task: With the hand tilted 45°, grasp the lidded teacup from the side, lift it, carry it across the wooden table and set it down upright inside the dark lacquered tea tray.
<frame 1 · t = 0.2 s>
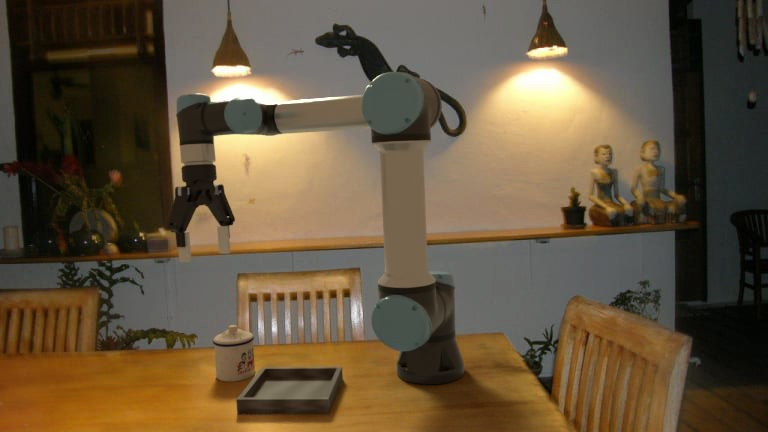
hand: (206, 257, 139), 27 cm above the table, tool pointing down, fingers open, 13 cm apart
tea tray: (293, 395, 127), on the table
teacup with lid: (239, 374, 142), on the table
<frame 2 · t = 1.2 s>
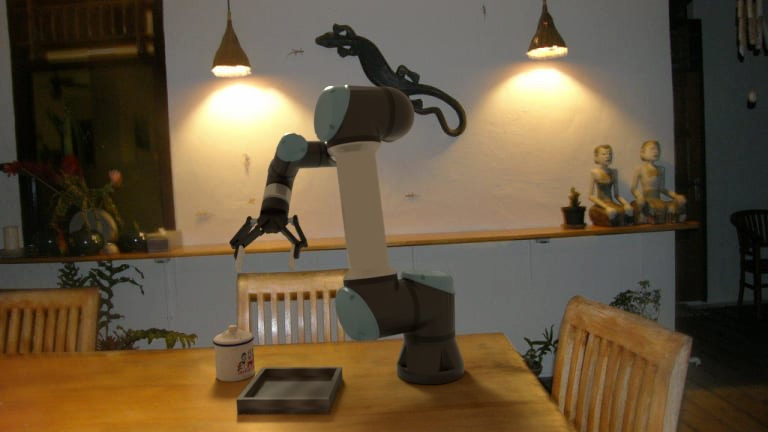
hand: (264, 269, 153), 22 cm above the table, tool tilted 45°, fingers open, 13 cm apart
nothing on the table moved.
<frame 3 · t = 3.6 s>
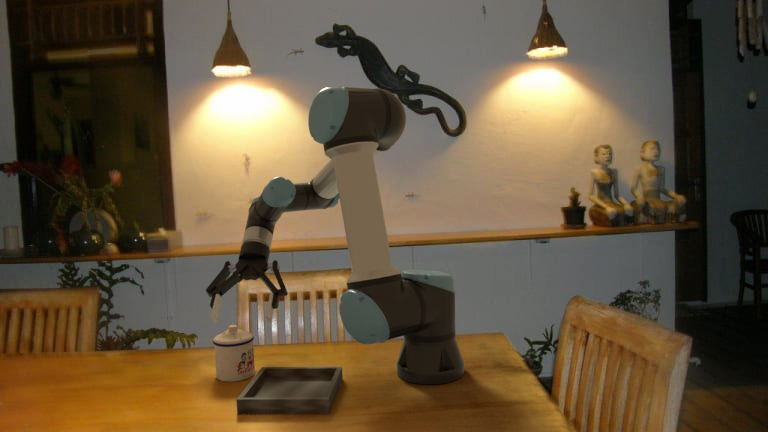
hand: (241, 319, 147), 11 cm above the table, tool tilted 45°, fingers open, 13 cm apart
nothing on the table moved.
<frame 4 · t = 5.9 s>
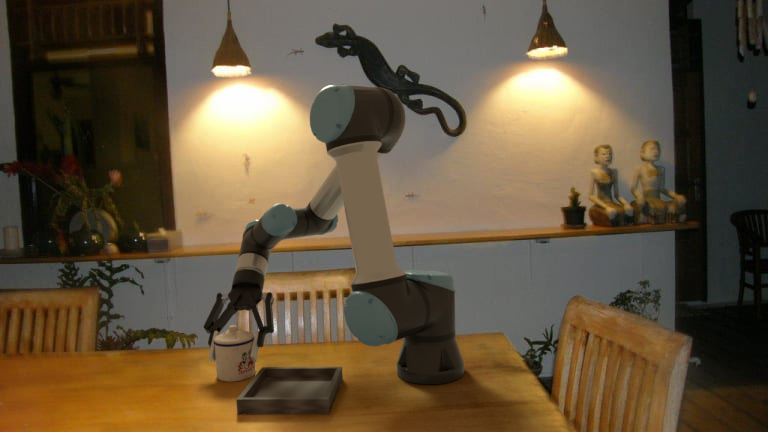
hand: (232, 359, 138), 4 cm above the table, tool tilted 45°, fingers closed on teacup with lid, 9 cm apart
teacup with lid: (239, 373, 142), on the table, touching gripper
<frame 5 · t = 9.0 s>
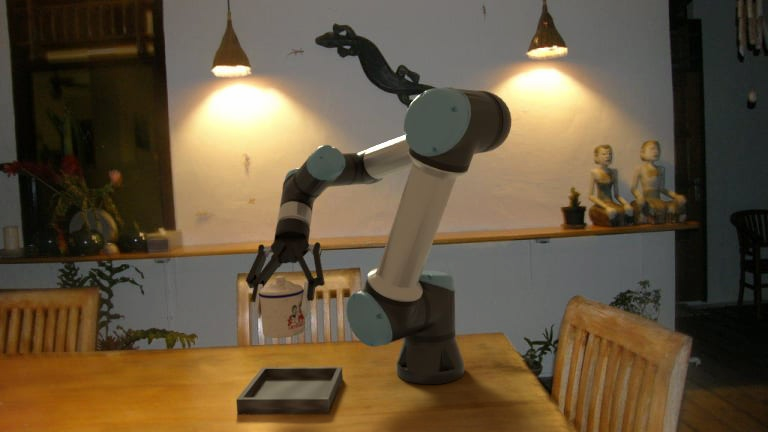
hand: (280, 313, 123), 18 cm above the table, tool tilted 45°, fingers closed on teacup with lid, 9 cm apart
teacup with lid: (287, 331, 127), point 13 cm above the table, touching gripper
when the fingers open (7 cm above the table, at t = 11.8 s): teacup with lid drops 1 cm, resting on tea tray.
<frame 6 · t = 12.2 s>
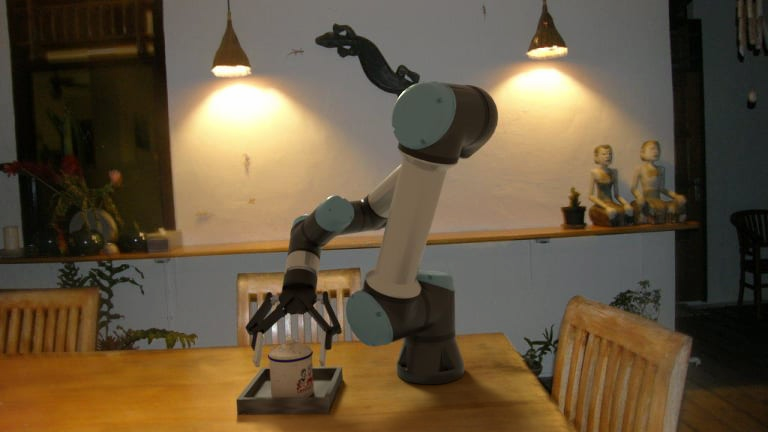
hand: (288, 364, 124), 8 cm above the table, tool tilted 45°, fingers open, 13 cm apart
teacup with lid: (295, 392, 127), point 1 cm above the table, touching tea tray
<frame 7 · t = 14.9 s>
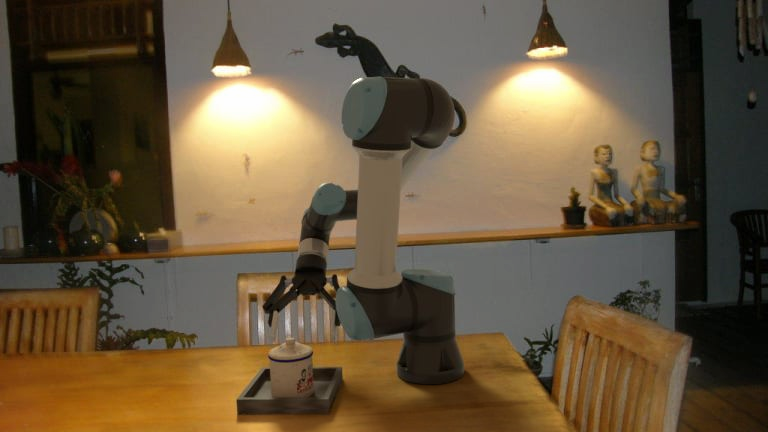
hand: (302, 338, 137), 9 cm above the table, tool tilted 45°, fingers open, 13 cm apart
nothing on the table moved.
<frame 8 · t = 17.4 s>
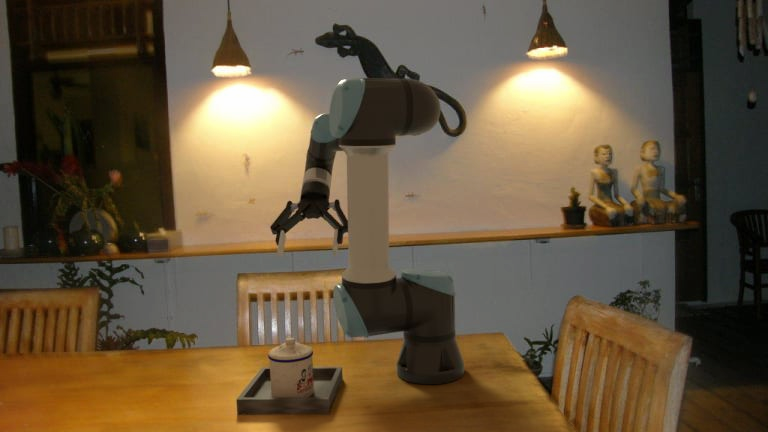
hand: (307, 254, 149), 26 cm above the table, tool tilted 45°, fingers open, 13 cm apart
nothing on the table moved.
at the end: teacup with lid inside the target area on the tea tray (0.5 cm from its centre), point 0.8 cm above the tea tray's base; teacup with lid tilted 0°; the gripper is holding nothing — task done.
